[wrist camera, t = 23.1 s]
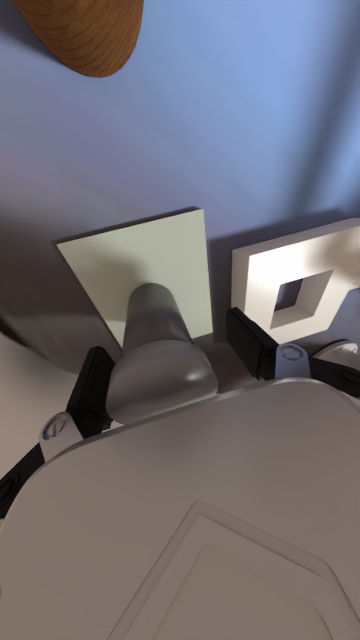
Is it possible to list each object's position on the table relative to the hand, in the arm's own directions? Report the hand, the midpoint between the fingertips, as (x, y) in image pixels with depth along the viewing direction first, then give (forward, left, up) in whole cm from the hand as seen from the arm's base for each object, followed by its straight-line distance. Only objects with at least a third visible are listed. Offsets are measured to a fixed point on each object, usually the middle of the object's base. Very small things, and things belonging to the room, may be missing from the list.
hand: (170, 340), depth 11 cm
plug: (0, +1, -6) cm, 6 cm away
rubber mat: (0, 0, -7) cm, 7 cm away
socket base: (-4, -19, -7) cm, 20 cm away
